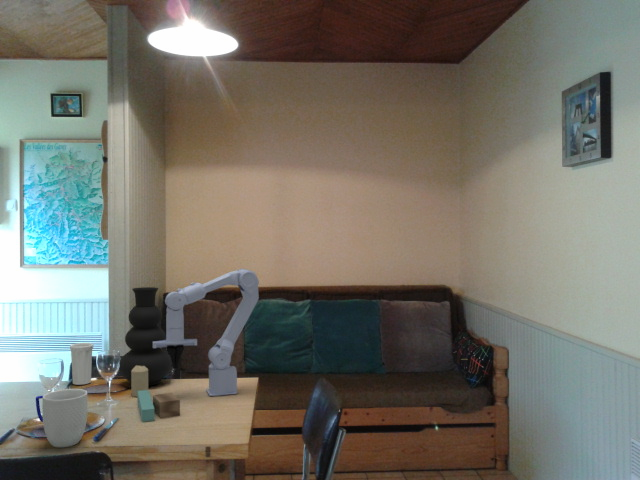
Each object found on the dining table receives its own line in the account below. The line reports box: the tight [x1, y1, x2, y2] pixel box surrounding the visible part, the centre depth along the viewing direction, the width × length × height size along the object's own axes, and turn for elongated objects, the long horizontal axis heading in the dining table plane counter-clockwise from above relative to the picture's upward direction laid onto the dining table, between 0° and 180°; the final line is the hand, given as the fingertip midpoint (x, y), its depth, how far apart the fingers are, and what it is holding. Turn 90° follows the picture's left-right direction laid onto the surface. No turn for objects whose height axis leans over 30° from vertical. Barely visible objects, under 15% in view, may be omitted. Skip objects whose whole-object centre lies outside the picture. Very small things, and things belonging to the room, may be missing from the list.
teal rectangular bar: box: [137, 389, 155, 423], centre depth 184 cm, size 4×22×4 cm, turn 21°
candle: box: [130, 365, 149, 398], centre depth 202 cm, size 6×6×10 cm
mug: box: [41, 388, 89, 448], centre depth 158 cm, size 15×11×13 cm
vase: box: [118, 286, 172, 387], centre depth 217 cm, size 18×18×35 cm
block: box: [152, 392, 181, 419], centre depth 182 cm, size 6×9×5 cm, turn 29°
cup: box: [69, 342, 94, 386], centre depth 217 cm, size 8×8×14 cm
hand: (175, 367), depth 199 cm, fingers closed
